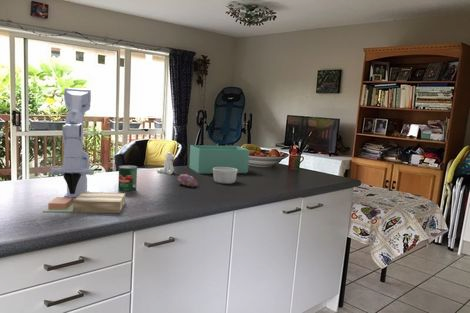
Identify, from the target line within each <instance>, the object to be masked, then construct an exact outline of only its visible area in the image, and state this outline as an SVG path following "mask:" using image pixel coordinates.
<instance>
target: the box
mask: <svg viewBox="0 0 470 313" xmlns="http://www.w3.org/2000/svg"><path fill="white" fill-rule="evenodd" d="M189 149H190V150H189V168H190V169H191V170H192V171H194V172H195V173H197V174H213V168H215V167H229V168H235V169H237V170H238V172H237V174H248V173H249V160H250V149H247V148H243V147H241V146H237V145H197V144H196V145H195V144H190V147H189ZM247 172H248V173H247Z"/></svg>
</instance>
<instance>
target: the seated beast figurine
mask: <svg viewBox="0 0 470 313" xmlns="http://www.w3.org/2000/svg"><path fill="white" fill-rule="evenodd" d="M164 157H165V158H164V159H165V160H164V162H163V165H164V167H160V168H158V169H156V172H157V174H167V175H172V174H173V173H174V170H175V168H174V165H173V161H172V160H173V159H174V158H175V157H176V155H175V154H173V153H172V152H169V151H168V152H167V153H166V154H165V156H164Z"/></svg>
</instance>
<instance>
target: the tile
mask: <svg viewBox="0 0 470 313" xmlns="http://www.w3.org/2000/svg"><path fill="white" fill-rule="evenodd" d="M73 201H74V197H64V196H61V197H60V196H59V197H58V196H56V197H54V198H53V199H52V200H51V201H49V202H48V206H47V207H48V209H67V208H68V207H69V206H70V205H71V204H72V203H73Z"/></svg>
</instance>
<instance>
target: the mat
mask: <svg viewBox="0 0 470 313" xmlns="http://www.w3.org/2000/svg"><path fill="white" fill-rule="evenodd" d="M42 213H74V212H73V203H72V204H71V205H70V206H69V207H68V208H67V209H48V206H47V207H46V208H44V209H43V210H42Z"/></svg>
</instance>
